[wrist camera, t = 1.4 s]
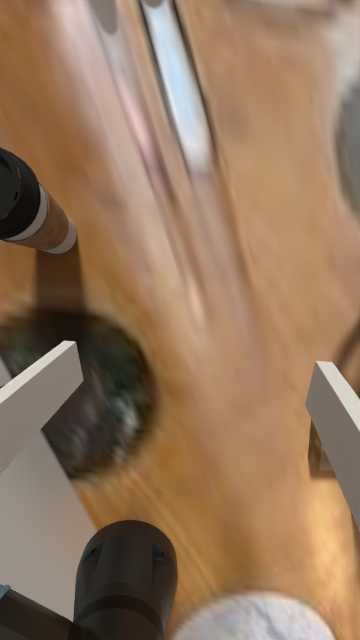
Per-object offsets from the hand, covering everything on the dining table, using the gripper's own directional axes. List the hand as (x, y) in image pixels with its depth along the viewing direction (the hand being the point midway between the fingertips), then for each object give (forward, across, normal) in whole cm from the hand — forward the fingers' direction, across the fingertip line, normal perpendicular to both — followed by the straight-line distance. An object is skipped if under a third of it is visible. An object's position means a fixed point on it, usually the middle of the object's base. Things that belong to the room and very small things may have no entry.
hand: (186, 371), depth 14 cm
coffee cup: (+23, +23, -6) cm, 33 cm away
